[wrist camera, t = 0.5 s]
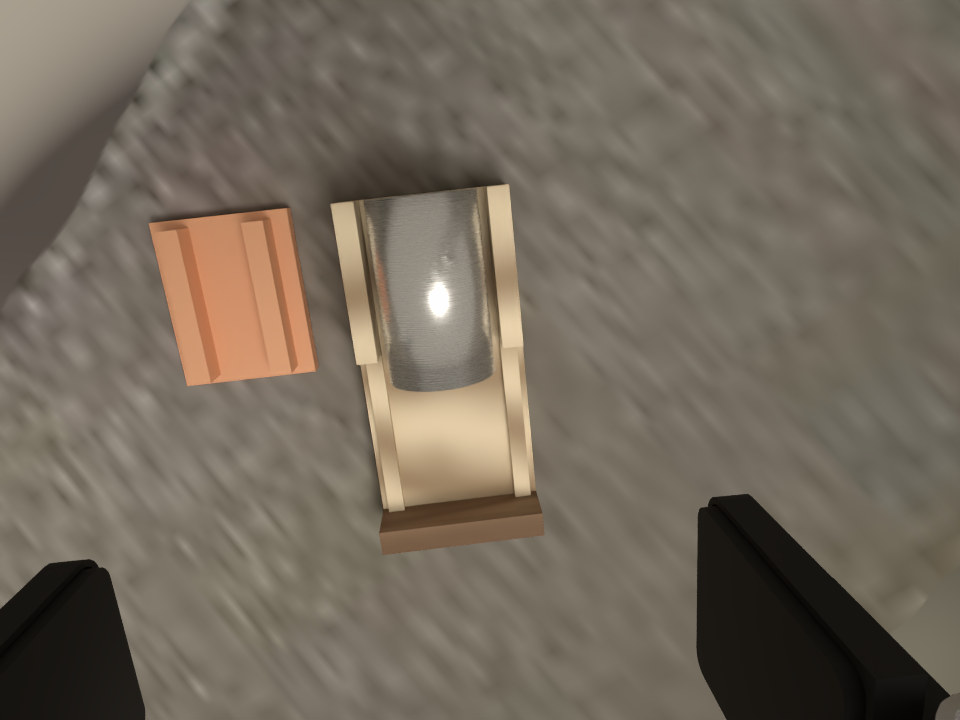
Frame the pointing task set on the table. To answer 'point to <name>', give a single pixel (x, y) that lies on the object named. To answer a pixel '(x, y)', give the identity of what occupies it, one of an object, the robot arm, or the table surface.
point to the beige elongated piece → (447, 407)
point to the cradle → (236, 295)
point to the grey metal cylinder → (431, 289)
